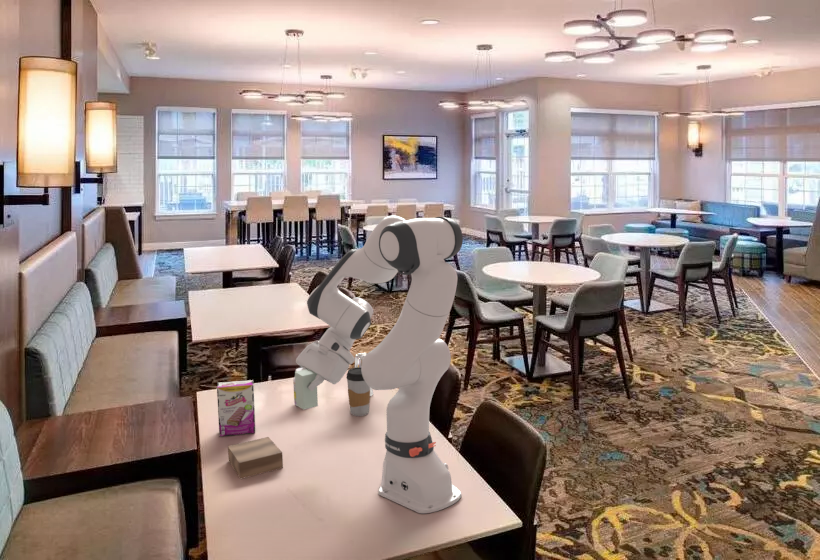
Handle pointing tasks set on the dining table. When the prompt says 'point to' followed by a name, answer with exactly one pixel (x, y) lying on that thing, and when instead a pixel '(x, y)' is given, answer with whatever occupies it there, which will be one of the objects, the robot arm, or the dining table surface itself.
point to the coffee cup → (358, 392)
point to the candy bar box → (236, 407)
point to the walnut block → (255, 457)
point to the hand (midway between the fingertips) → (304, 386)
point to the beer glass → (359, 363)
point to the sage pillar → (305, 389)
